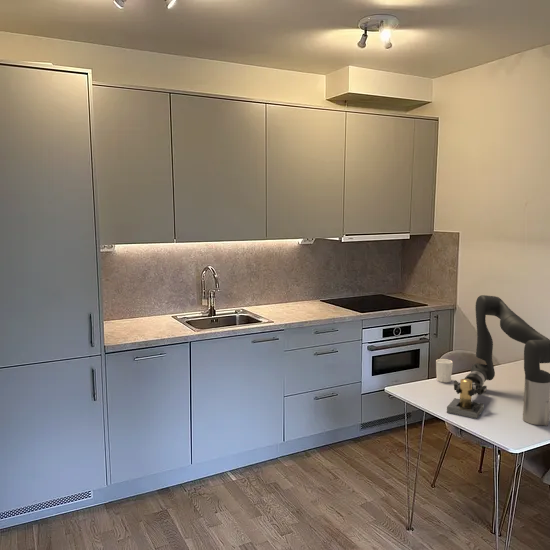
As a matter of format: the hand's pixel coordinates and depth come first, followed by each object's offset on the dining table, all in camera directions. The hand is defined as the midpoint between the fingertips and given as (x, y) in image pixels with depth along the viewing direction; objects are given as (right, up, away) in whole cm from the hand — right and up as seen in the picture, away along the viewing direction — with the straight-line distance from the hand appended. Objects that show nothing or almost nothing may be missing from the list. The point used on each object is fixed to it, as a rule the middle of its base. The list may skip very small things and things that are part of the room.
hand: (464, 392), depth 208 cm
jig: (+2, -9, +3) cm, 9 cm away
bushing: (+2, -7, +3) cm, 8 cm away
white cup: (+6, -4, +43) cm, 43 cm away
